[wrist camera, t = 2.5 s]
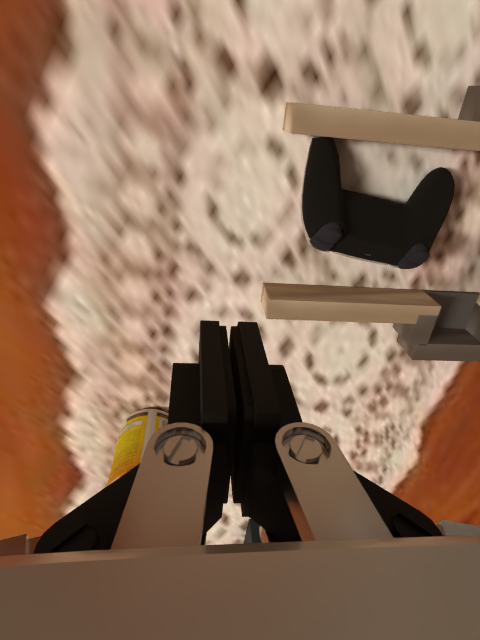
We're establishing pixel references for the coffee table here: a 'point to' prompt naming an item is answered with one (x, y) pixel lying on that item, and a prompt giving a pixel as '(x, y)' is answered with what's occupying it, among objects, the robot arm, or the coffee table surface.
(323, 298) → the channel
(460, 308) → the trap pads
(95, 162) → the coffee table surface
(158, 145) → the coffee table surface
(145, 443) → the supplement bottle
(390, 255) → the gaming controller
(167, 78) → the coffee table surface
